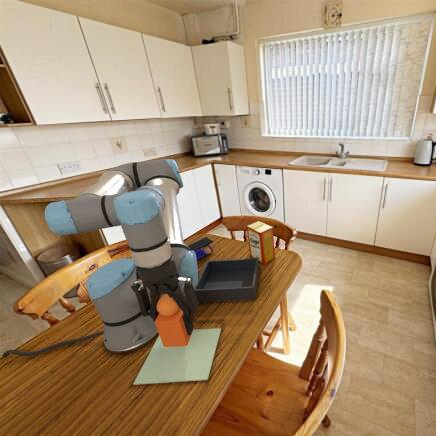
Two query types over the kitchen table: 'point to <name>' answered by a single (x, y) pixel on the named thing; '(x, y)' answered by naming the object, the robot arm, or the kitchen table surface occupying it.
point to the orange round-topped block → (171, 323)
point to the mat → (181, 359)
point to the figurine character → (203, 244)
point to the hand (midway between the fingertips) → (178, 331)
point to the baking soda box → (261, 241)
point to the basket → (228, 280)
